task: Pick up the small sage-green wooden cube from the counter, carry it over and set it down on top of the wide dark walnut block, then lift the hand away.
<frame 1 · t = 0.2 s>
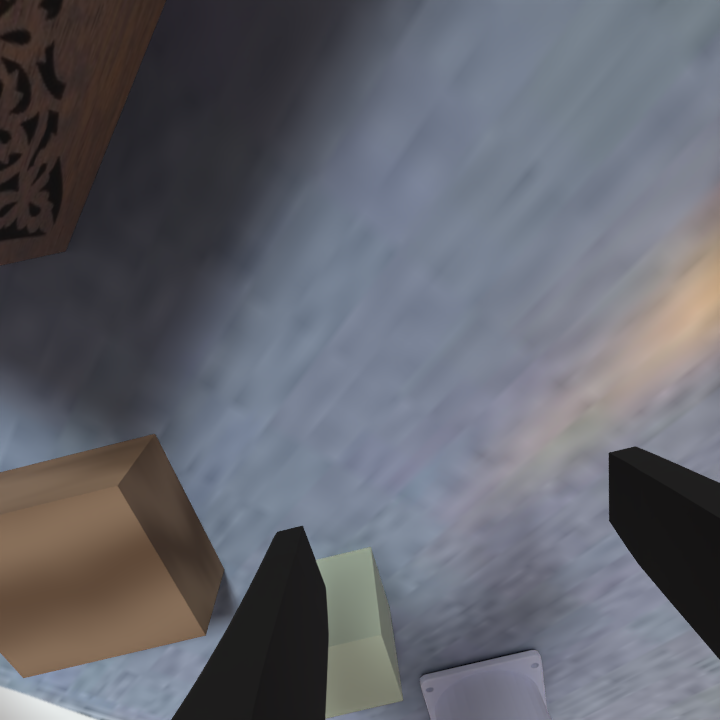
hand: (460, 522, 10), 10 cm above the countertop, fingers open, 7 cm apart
sage cube: (338, 587, 24), on the countertop
walnut block: (111, 522, 21), on the countertop
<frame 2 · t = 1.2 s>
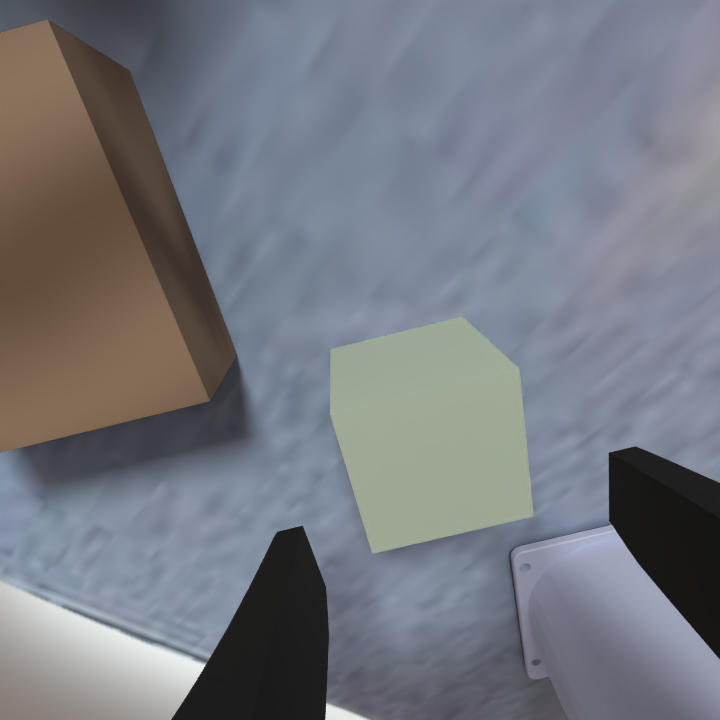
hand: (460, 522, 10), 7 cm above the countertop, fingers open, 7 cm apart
sage cube: (408, 391, 16), on the countertop
walnut block: (64, 262, 14), on the countertop
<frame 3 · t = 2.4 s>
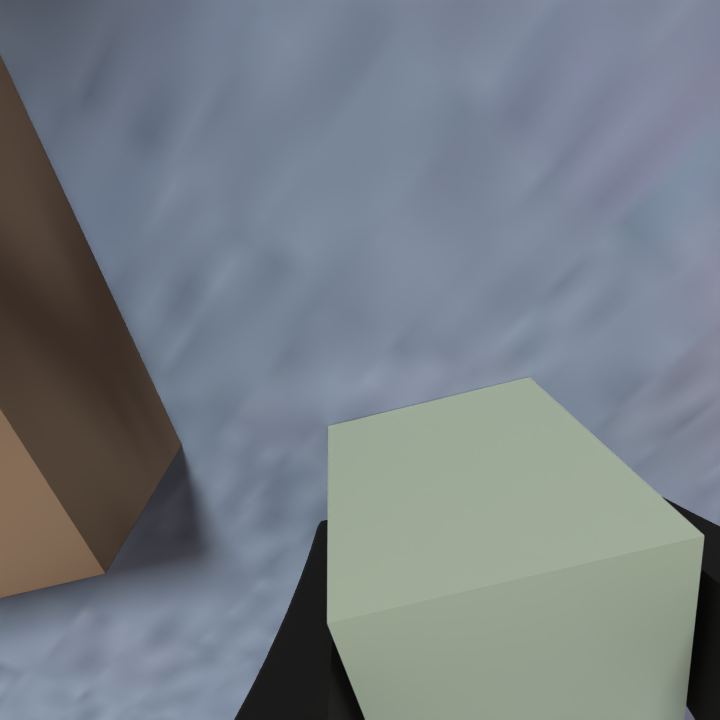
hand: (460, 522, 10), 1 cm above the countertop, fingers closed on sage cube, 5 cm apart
sage cube: (444, 483, 11), on the countertop, touching gripper
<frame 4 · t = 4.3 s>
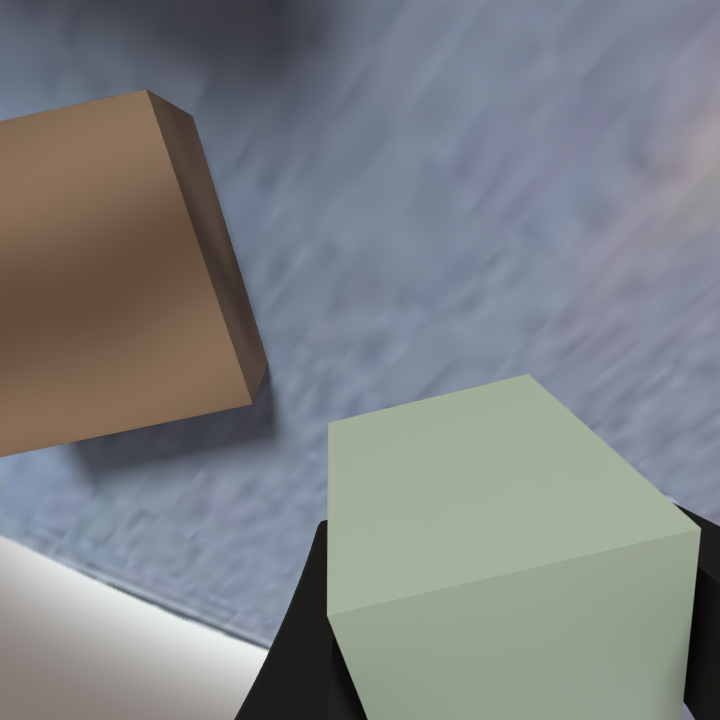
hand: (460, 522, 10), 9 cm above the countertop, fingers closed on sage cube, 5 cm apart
sage cube: (443, 479, 11), point 7 cm above the countertop, touching gripper
walnut block: (120, 276, 16), on the countertop
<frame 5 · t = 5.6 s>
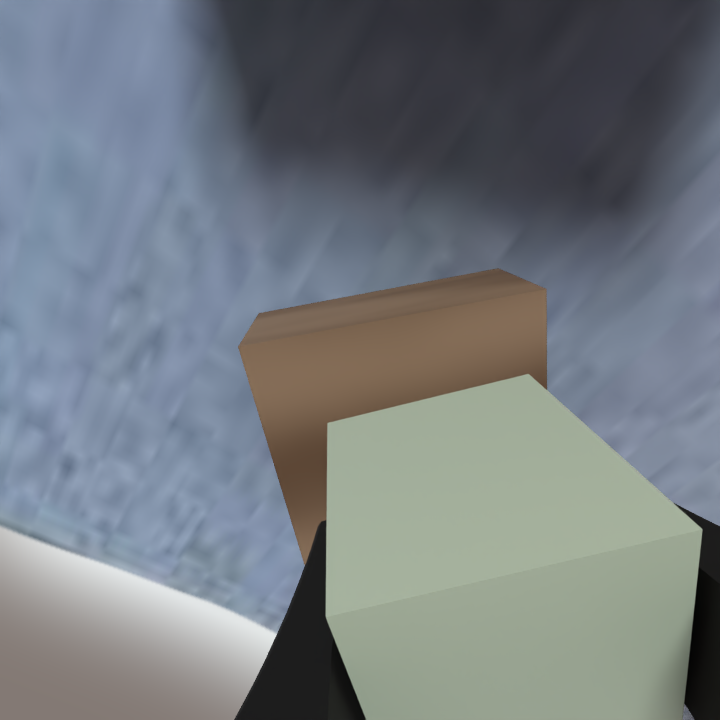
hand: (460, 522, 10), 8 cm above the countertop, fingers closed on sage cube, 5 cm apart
sage cube: (443, 480, 11), point 6 cm above the countertop, touching gripper
walnut block: (394, 394, 17), on the countertop
when the fingers open (6 cm above the countertop, at t = 6.4 s): sage cube drops 1 cm, resting on walnut block.
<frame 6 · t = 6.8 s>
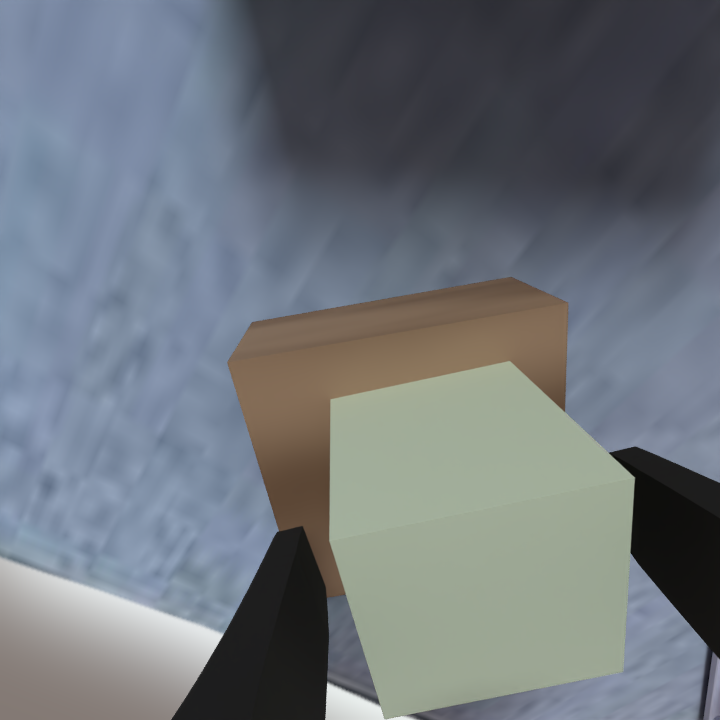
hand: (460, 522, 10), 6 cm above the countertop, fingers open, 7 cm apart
sage cube: (432, 455, 12), point 4 cm above the countertop, touching walnut block
walnut block: (396, 409, 16), on the countertop, touching sage cube
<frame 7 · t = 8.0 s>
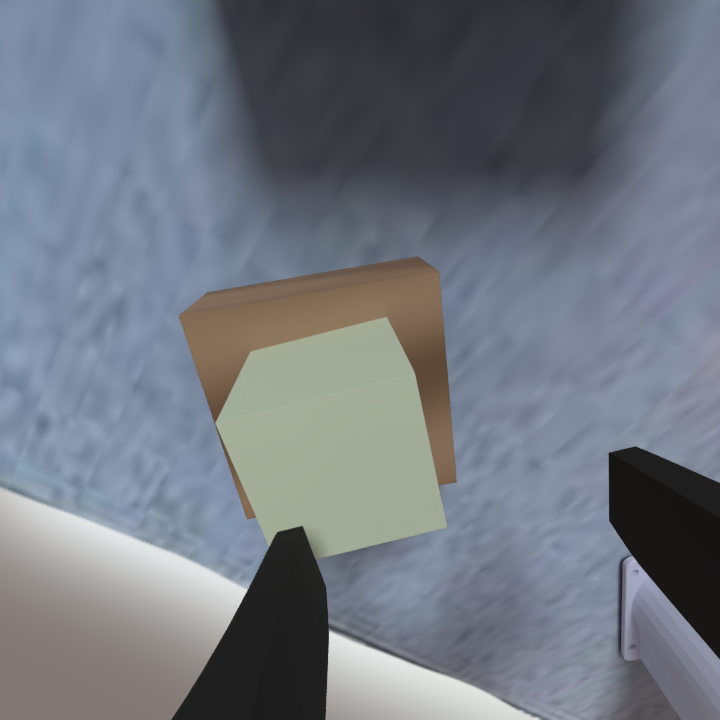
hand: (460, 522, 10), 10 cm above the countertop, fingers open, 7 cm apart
sage cube: (336, 395, 16), point 4 cm above the countertop, touching walnut block
walnut block: (331, 367, 19), on the countertop, touching sage cube
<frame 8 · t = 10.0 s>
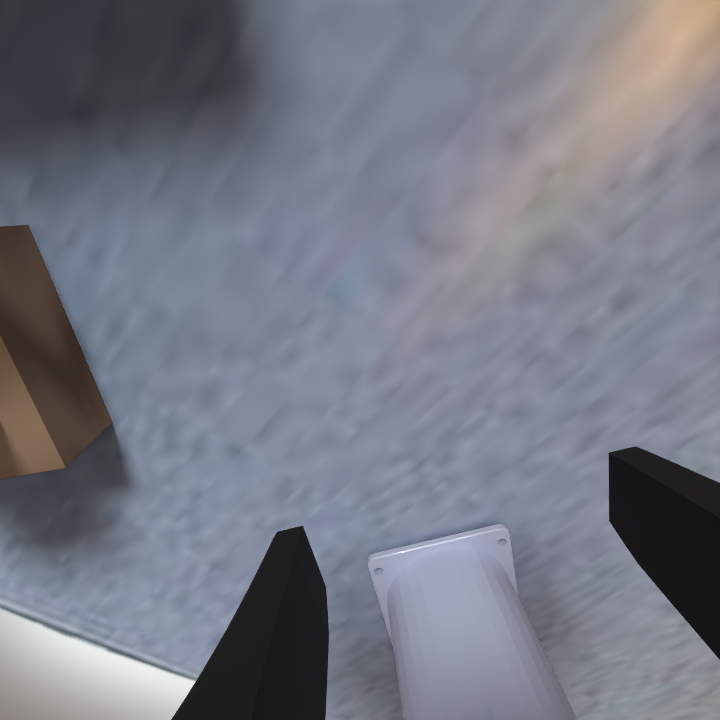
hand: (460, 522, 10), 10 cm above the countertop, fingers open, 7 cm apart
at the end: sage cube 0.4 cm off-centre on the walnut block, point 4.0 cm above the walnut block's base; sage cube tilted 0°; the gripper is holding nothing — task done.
